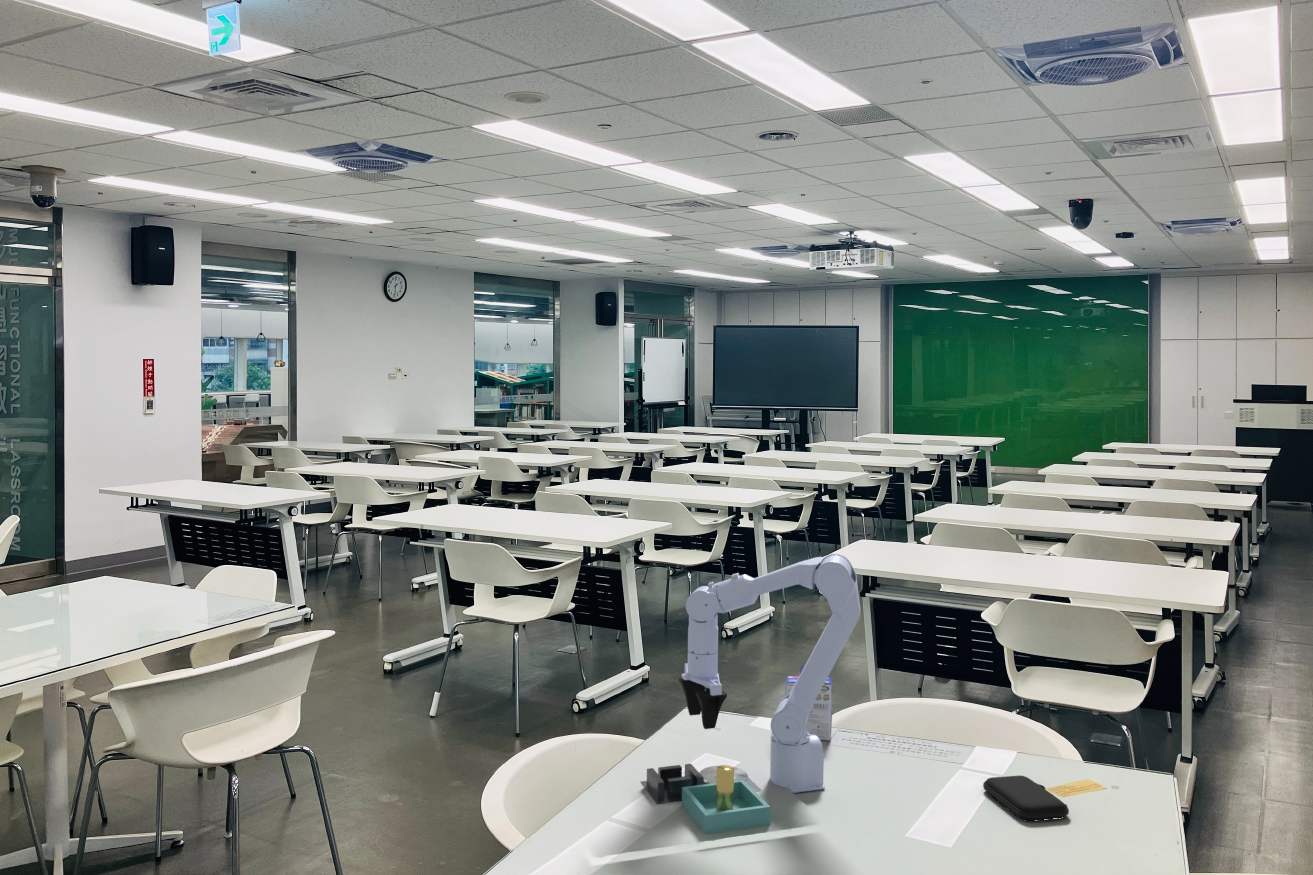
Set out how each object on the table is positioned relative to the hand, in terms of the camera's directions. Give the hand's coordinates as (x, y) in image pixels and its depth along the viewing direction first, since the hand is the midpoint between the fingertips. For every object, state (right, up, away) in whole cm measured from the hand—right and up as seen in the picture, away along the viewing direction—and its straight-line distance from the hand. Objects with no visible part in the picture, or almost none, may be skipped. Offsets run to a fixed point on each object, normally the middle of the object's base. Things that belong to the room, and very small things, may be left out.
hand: (701, 721), depth 183 cm
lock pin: (+3, -11, -18) cm, 22 cm away
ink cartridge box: (+24, -10, +22) cm, 34 cm away
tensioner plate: (-1, -11, -7) cm, 13 cm away
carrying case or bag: (+58, -12, -11) cm, 60 cm away
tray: (+3, -12, -18) cm, 22 cm away
